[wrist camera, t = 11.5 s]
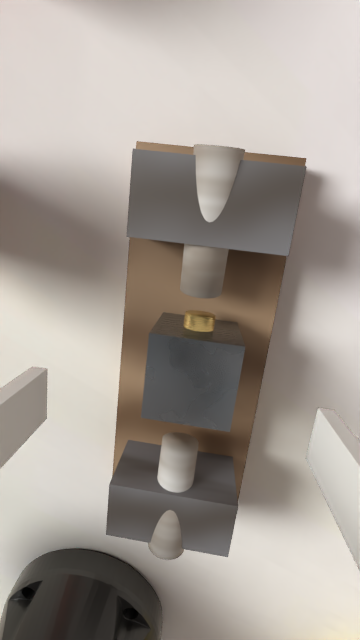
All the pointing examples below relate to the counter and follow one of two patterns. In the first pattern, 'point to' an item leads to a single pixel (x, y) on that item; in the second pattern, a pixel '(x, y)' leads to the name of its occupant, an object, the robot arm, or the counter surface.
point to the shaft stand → (178, 297)
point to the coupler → (193, 370)
